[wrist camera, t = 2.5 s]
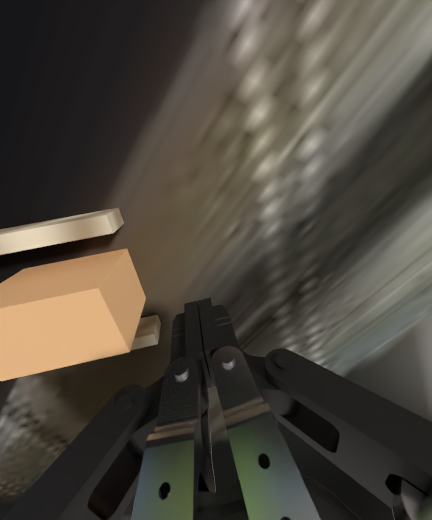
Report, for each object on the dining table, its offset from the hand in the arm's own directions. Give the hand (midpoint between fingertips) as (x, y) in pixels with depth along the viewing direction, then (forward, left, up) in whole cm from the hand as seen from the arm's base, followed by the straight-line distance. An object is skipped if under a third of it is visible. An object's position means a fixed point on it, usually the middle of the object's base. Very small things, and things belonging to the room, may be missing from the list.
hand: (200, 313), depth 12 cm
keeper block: (+9, 0, -7) cm, 11 cm away
